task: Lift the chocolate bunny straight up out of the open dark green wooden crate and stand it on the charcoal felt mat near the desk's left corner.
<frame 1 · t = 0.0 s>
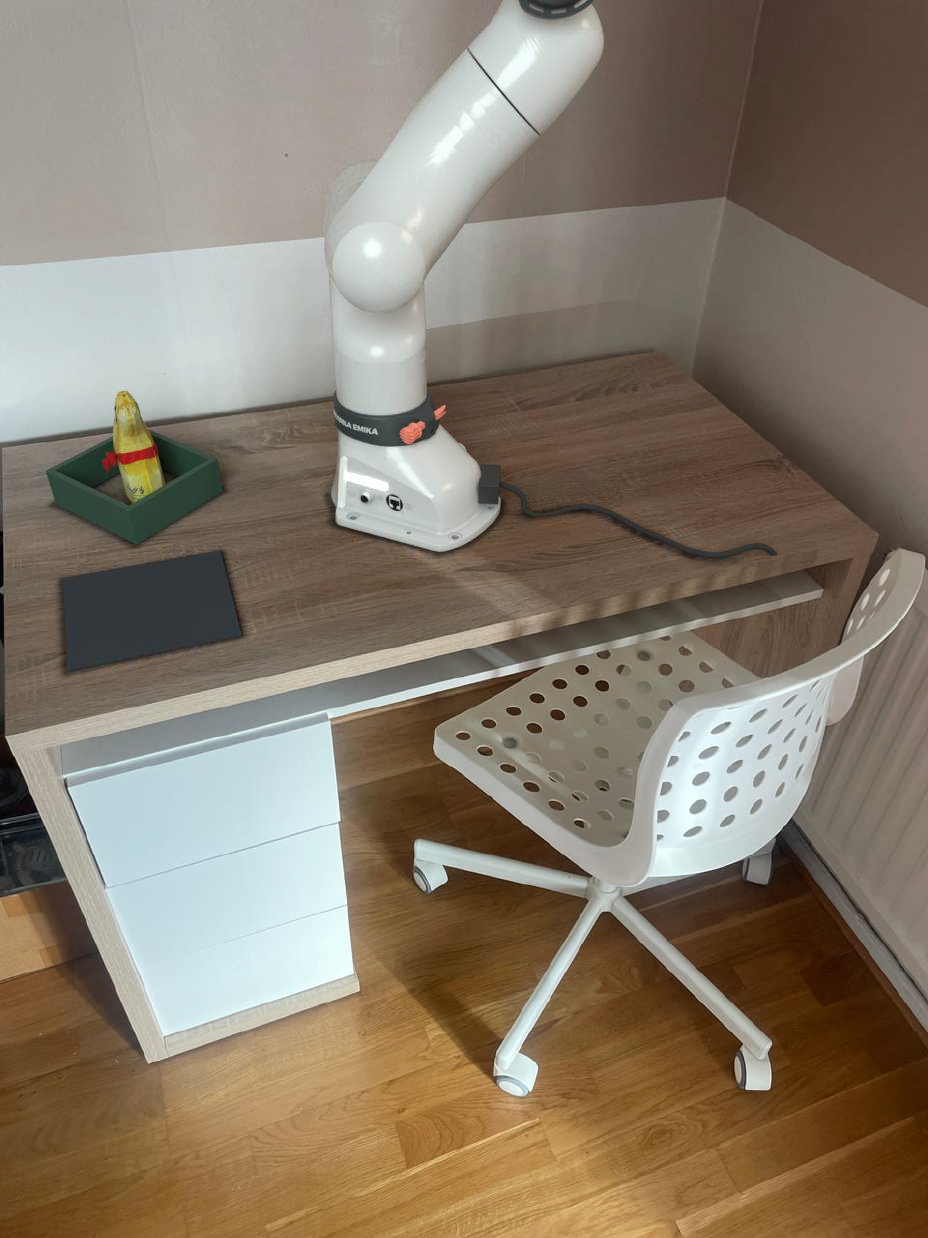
crate: (140, 497, 126), on the table
mat: (150, 607, 109), on the table
chocolate bunny: (140, 499, 126), resting in crate
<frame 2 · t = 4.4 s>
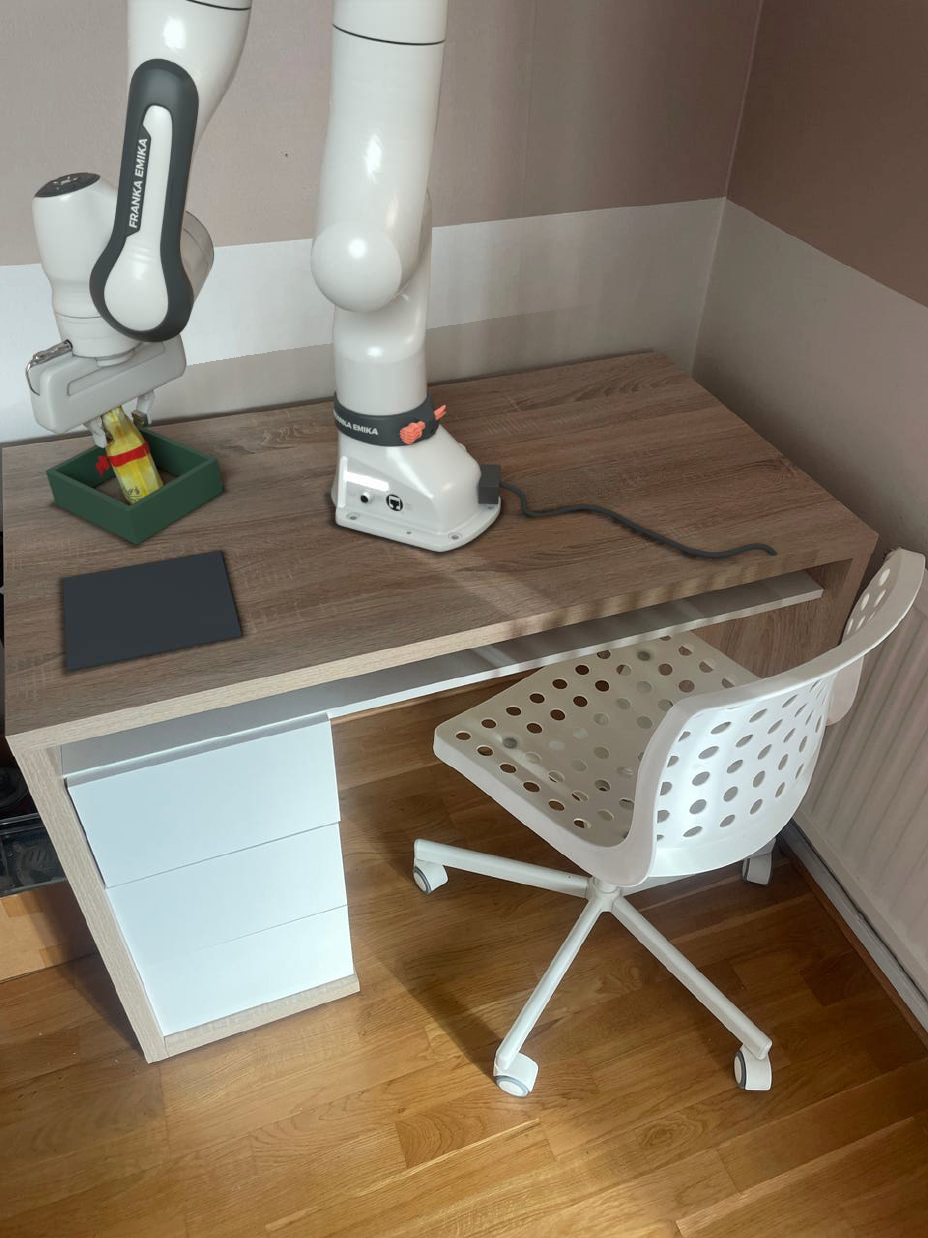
hand: (124, 434, 120), 9 cm above the table, tool pointing down, fingers closed on chocolate bunny, 4 cm apart
chocolate bunny: (140, 498, 126), resting in crate, touching gripper
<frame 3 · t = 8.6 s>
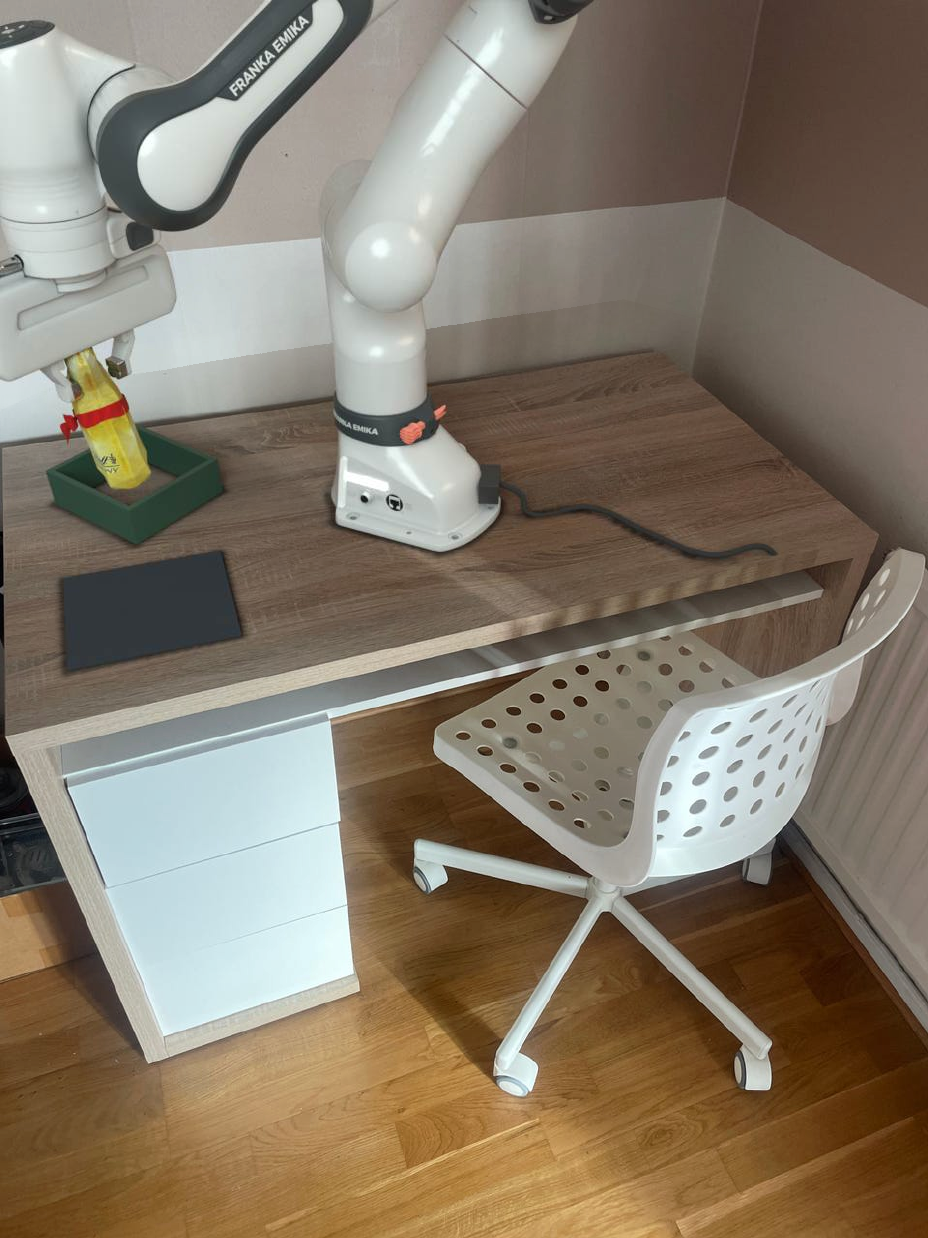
hand: (96, 386, 94), 26 cm above the table, tool pointing down, fingers closed on chocolate bunny, 4 cm apart
chocolate bunny: (117, 470, 99), point 17 cm above the table, touching gripper
when the fingers open (10 cm above the table, at t = 12.7 s): chocolate bunny stays where it is, resting on mat.
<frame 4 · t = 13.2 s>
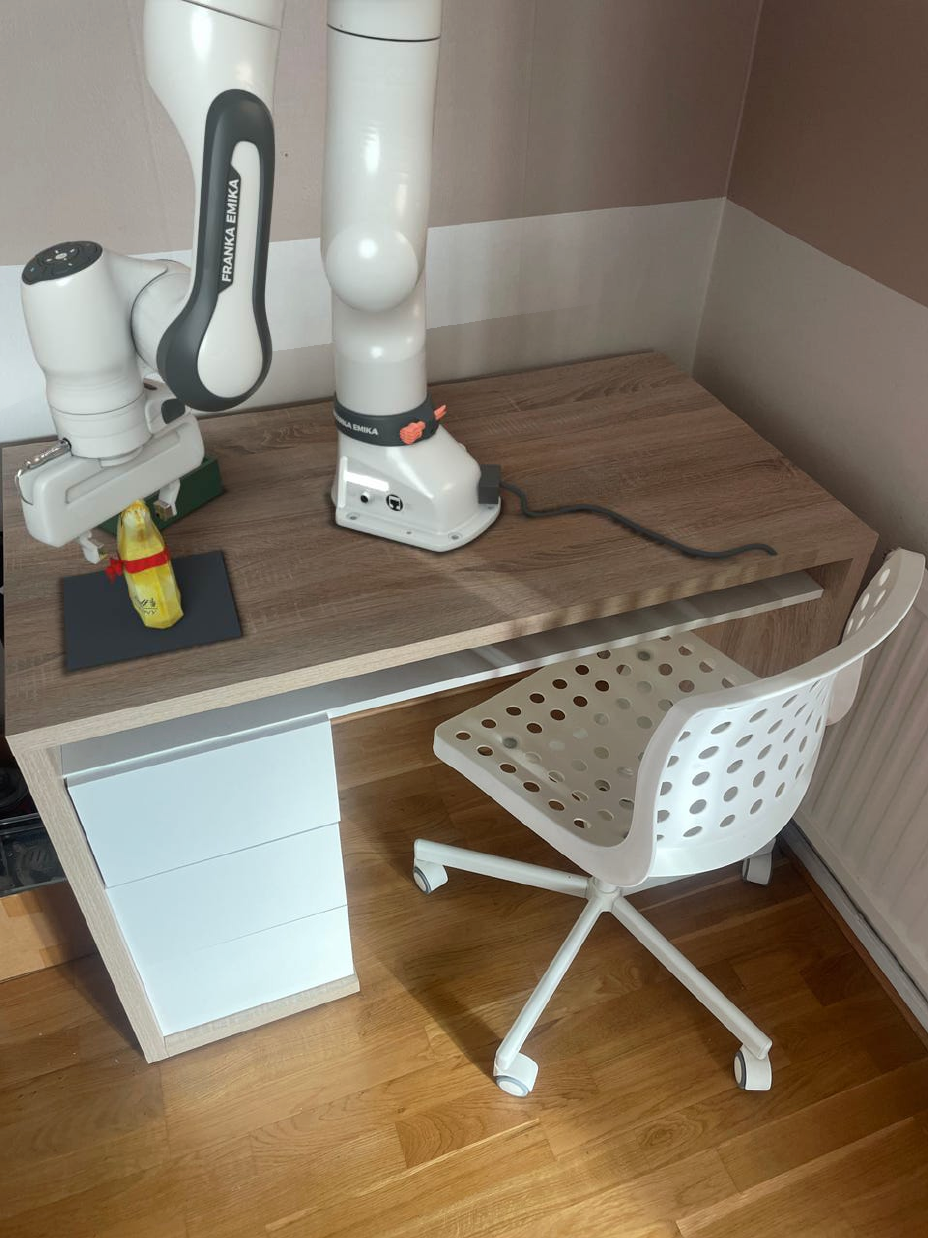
hand: (133, 536, 103), 10 cm above the table, tool pointing down, fingers open, 8 cm apart
chocolate bunny: (149, 607, 109), resting on mat
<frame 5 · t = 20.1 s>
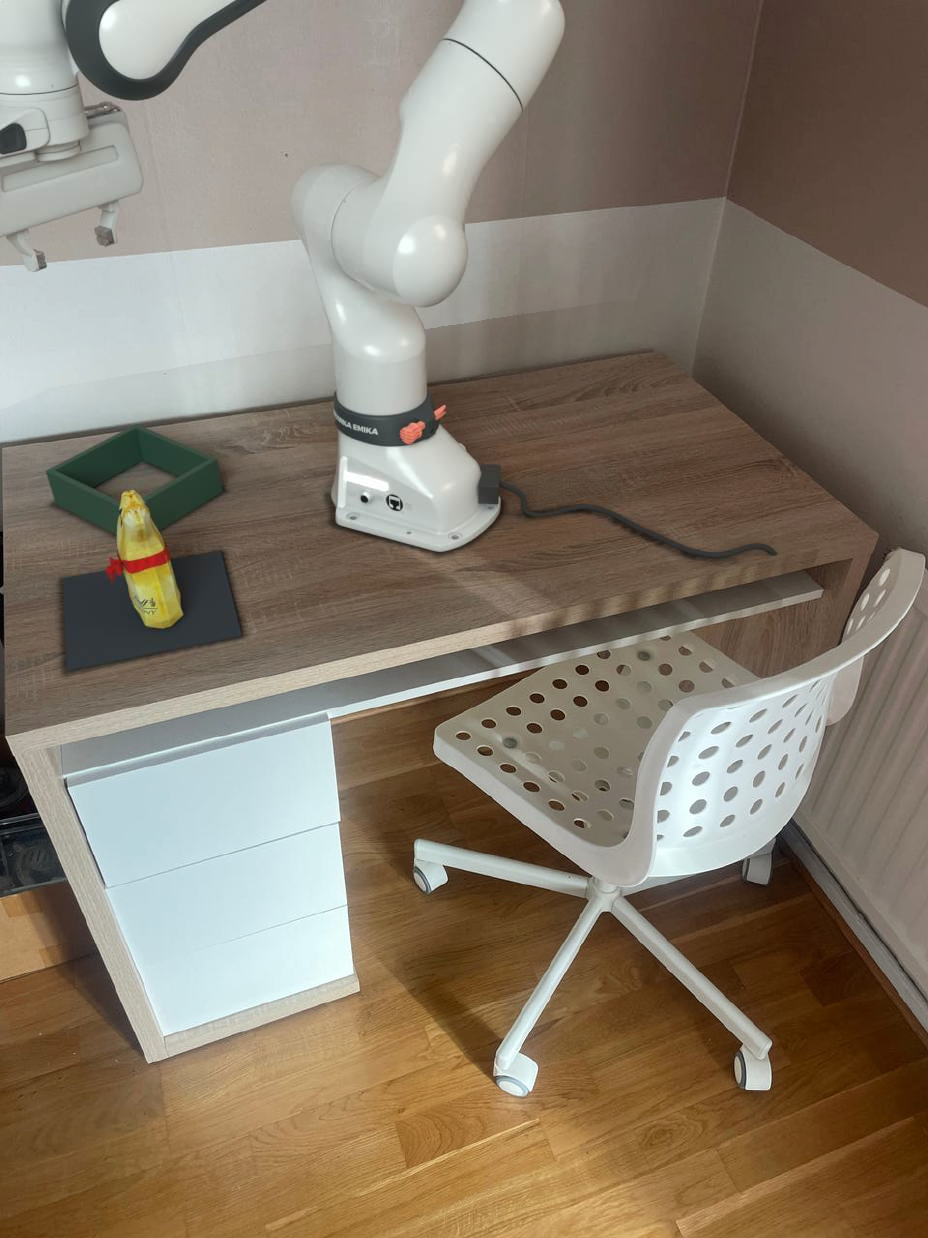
hand: (73, 256, 106), 31 cm above the table, tool pointing down, fingers open, 8 cm apart
nothing on the table moved.
at the end: chocolate bunny 0.2 cm from the mat (horizontally); chocolate bunny resting on mat; chocolate bunny tilted 0° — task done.
